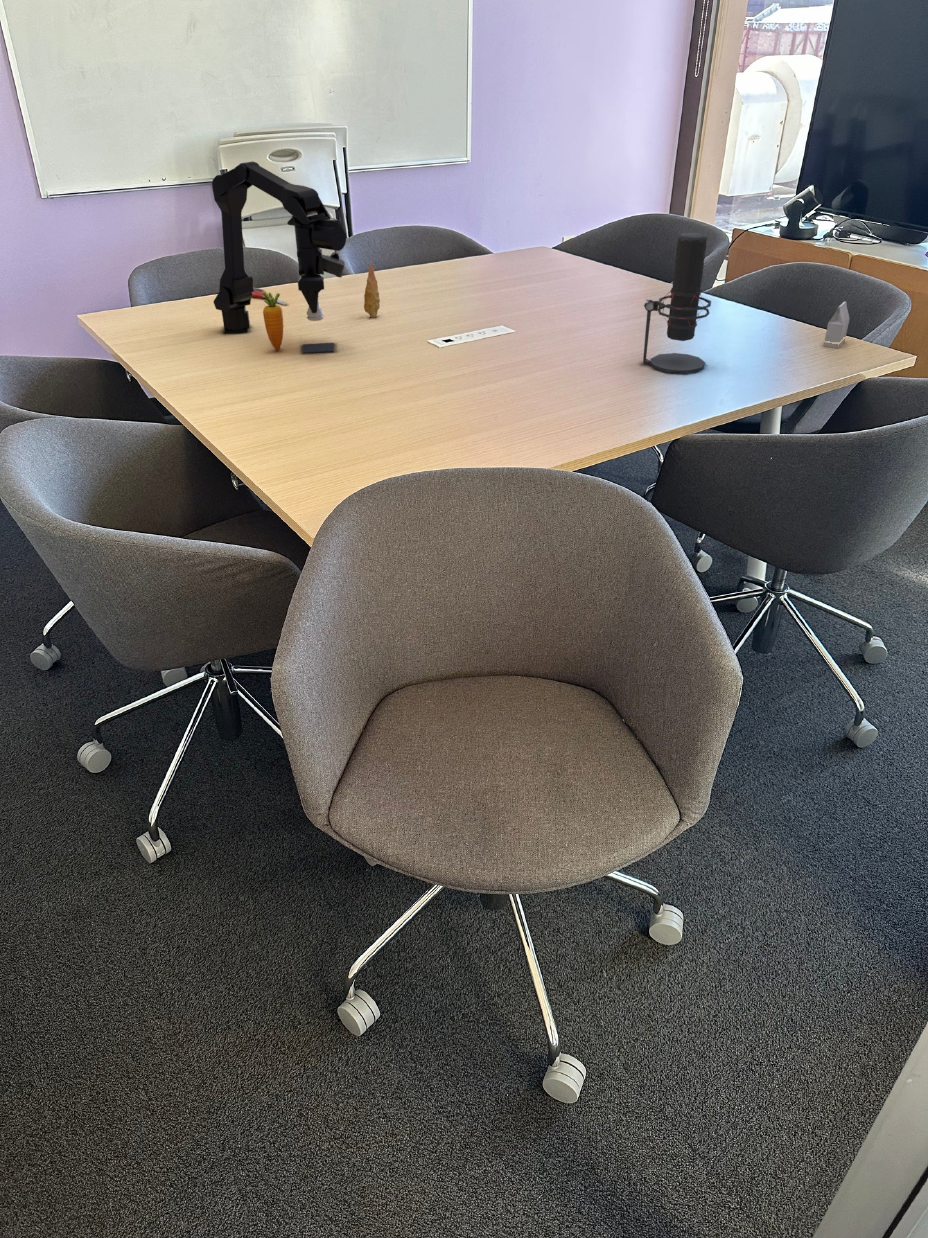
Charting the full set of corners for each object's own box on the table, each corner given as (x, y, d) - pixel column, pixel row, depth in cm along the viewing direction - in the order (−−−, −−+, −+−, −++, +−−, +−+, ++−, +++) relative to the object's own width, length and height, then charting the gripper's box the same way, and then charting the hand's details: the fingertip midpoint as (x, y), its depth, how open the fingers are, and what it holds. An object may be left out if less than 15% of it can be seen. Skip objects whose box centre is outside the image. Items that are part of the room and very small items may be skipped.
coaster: (302, 353, 231) (302, 352, 231) (303, 345, 237) (303, 344, 237) (334, 352, 232) (333, 350, 232) (333, 344, 238) (333, 342, 238)
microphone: (668, 378, 213) (684, 243, 196) (634, 362, 222) (646, 232, 206) (716, 368, 218) (735, 236, 201) (680, 353, 228) (696, 226, 211)
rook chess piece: (327, 317, 231) (324, 285, 227) (318, 322, 228) (315, 289, 224) (312, 315, 233) (309, 283, 229) (303, 320, 230) (299, 287, 225)
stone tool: (369, 320, 256) (366, 264, 248) (364, 318, 257) (360, 263, 249) (382, 316, 259) (378, 261, 251) (376, 314, 261) (372, 260, 252)
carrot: (290, 348, 235) (283, 289, 226) (281, 354, 231) (274, 294, 222) (273, 347, 236) (266, 287, 228) (264, 352, 232) (256, 292, 224)
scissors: (285, 305, 270) (284, 300, 269) (234, 296, 279) (233, 291, 279) (302, 299, 275) (301, 294, 275) (251, 291, 285) (251, 286, 284)
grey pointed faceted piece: (844, 341, 235) (853, 302, 229) (838, 348, 230) (846, 308, 224) (830, 339, 236) (838, 300, 231) (823, 346, 232) (831, 306, 226)
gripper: (342, 252, 214) (347, 319, 223) (340, 236, 229) (345, 299, 238) (294, 254, 213) (301, 321, 221) (296, 238, 228) (302, 301, 237)
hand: (314, 310), depth 229 cm, fingers closed on rook chess piece, 3 cm apart
